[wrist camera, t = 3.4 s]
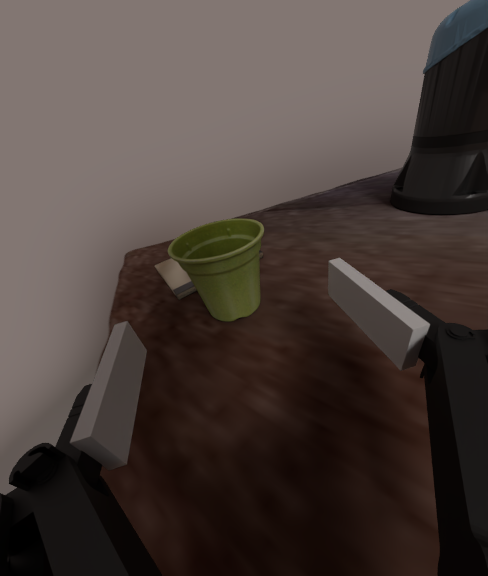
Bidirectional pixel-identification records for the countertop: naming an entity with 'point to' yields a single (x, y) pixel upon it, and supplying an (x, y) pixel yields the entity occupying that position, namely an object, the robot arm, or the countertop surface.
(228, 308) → the plant pot
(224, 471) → the countertop surface
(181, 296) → the board
